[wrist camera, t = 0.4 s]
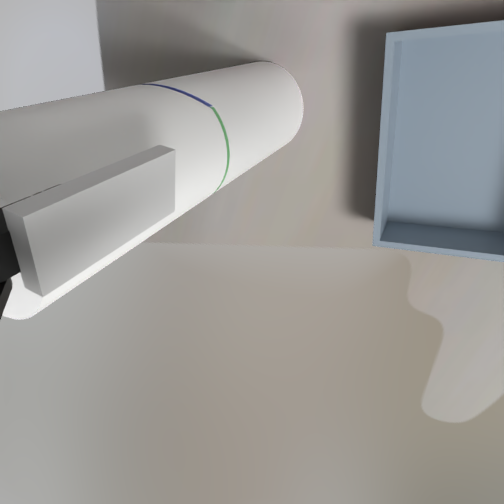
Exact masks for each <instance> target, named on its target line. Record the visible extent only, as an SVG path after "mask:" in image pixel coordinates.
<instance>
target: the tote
mask: <svg viewBox="0 0 504 504" xmlns="http://www.w3.org/2000/svg"><path fill="white" fill-rule="evenodd" d="M373 246H378V247H386V248H394V249H402V250H410V251H418V252H427V253H435V254H443V255H451V256H459V257H467V258H475V259H483V260H491V261H499V262H504V20H499V21H489V22H480V23H471V24H461V25H452V26H442V27H433V28H424V29H414V30H405V31H396V32H389V33H386V45H385V61H384V76H383V92H382V107H381V123H380V138H379V153H378V169H377V184H376V200H375V215H374V231H373Z"/></svg>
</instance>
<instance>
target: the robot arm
mask: <svg viewBox="0 0 504 504" xmlns="http://www.w3.org/2000/svg"><path fill="white" fill-rule="evenodd" d="M175 154H176V150H175V149H172V148H169V147H166V146H163V145H157V146H155V147H152V148H150V149H147V150H145V151H142V152H140V153H137V154H135V155H132V156H130V157H127V158H125V159H122V160H120V161H117V162H115V163H113V164H110V165H108V166H105V167H103V168H100V169H98V170H95V171H93V172H90V173H88V174H85V175H83V176H80V177H78V178H75V179H73V180H70V181H68V182H65V183H63V184H59V185H56V186H53V187H51V188H48V189H46V190H44V191H43V192H38V193H36V194H34V195H33V196H29V197H26V198H24V199H21V200H19V201H16V202H14V203H11V204H9V205H6V206H4V207H1V208H0V319H1V316H2V314H3V311H4V309H5V306H6V303H7V301H8V298H9V295H10V293H11V290H12V280H11V277H13V276H14V275H16V274H18V273H21V277H22V280H23V284H24V287H25V288H26V289H28V290H30V291H32V292H34V293H36V294H38V295H40V296H41V297H44V296H46V295H47V294H49V293H50V292H52V291H53V290H55V289H56V288H58V287H60V286H61V285H63V284H64V283H66V282H67V281H69V280H70V279H72V278H73V277H75V276H76V275H78V274H79V273H81V272H82V271H84V270H86V269H87V268H89V267H90V266H92V265H93V264H95V263H96V262H98V261H99V260H101V259H102V258H104V257H105V256H107V255H109V254H110V253H112V252H113V251H115V250H116V249H118V248H119V247H121V246H122V245H124V244H125V243H127V242H128V241H130V240H131V239H133V238H135V237H136V236H138V235H139V234H141V233H142V232H144V231H145V230H147V229H148V228H150V227H151V226H153V225H154V224H156V223H157V222H159V221H161V220H162V219H164V218H165V217H167V216H168V215H170V214H171V213H173V212H174V211H175Z"/></svg>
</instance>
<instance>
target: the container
mask: <svg viewBox="0 0 504 504" xmlns="http://www.w3.org/2000/svg"><path fill="white" fill-rule="evenodd" d="M302 118H303V99H302V94H301V91H300V89H299V86H298V84H297V82H296V81H295V79H294V78H293V77H292V75H291V74H290V73H289V72H288V71H287V70H285V69H284V68H283V67H281V66H279V65H277V64H275V63H272V62H265V61H261V62H254V63H248V64H243V65H238V66H233V67H228V68H222V69H217V70H212V71H207V72H202V73H196V74H191V75H186V76H181V77H176V78H170V79H165V80H160V81H155V82H149V83H144V84H139V85H134V86H129V87H123V88H118V89H113V90H108V91H103V92H98V93H92V94H87V95H82V96H77V97H71V98H66V99H61V100H56V101H51V102H45V103H40V104H35V105H30V106H25V107H19V108H15V109H9V110H5V111H0V208H1V207H4V206H6V205H9V204H11V203H14V202H16V201H19V200H21V199H24V198H26V197H29V196H33V195H34V194H36V193H38V192H43V191H44V190H46V189H48V188H51V187H53V186H56V185H59V184H63V183H65V182H68V181H70V180H73V179H75V178H78V177H80V176H83V175H85V174H88V173H90V172H93V171H95V170H98V169H100V168H103V167H105V166H108V165H110V164H113V163H115V162H117V161H120V160H122V159H125V158H127V157H130V156H132V155H135V154H137V153H140V152H142V151H145V150H147V149H150V148H152V147H155V146H157V145H163V146H166V147H169V148H172V149H175V150H176V154H175V211H174V212H173V213H171V214H170V215H168V216H167V217H165V218H164V219H162V220H161V221H159V222H157V223H156V224H154V225H153V226H151V227H150V228H148V229H147V230H145V231H144V232H142V233H141V234H139V235H138V236H136V237H135V238H133V239H131V240H130V241H128V242H127V243H125V244H124V245H122V246H121V247H119V248H118V249H116V250H115V251H113V252H112V253H110V254H109V255H107V256H105V257H104V258H102V259H101V260H99V261H98V262H96V263H95V264H93V265H92V266H90V267H89V268H87V269H86V270H84V271H82V272H81V273H79V274H78V275H76V276H75V277H73V278H72V279H70V280H69V281H67V282H66V283H64V284H63V285H61V286H60V287H58V288H56V289H55V290H53V291H52V292H50V293H49V294H47V295H46V296H44V297H41V296H40V295H38V294H36V293H34V292H32V291H30V290H28V289H26V288H25V287H24V284H23V280H22V277H21V273H18V274H16V275H14V276H13V277H11V280H12V290H11V293H10V295H9V298H8V301H7V303H6V306H5V309H4V311H3V314H2V315H3V316H6V317H8V318H13V319H27V318H30V317H32V316H33V315H35V314H36V313H38V312H39V311H41V310H42V309H44V308H45V307H47V306H48V305H50V304H51V303H53V302H54V301H55V300H57V299H58V298H60V297H61V296H63V295H64V294H66V293H67V292H69V291H70V290H71V289H73V288H75V287H76V286H78V285H79V284H80V283H82V282H83V281H85V280H86V279H88V278H89V277H91V276H92V275H94V274H95V273H97V272H98V271H100V270H101V269H103V268H104V267H106V266H107V265H108V264H110V263H111V262H113V261H115V260H116V259H117V258H119V257H120V256H122V255H123V254H125V253H126V252H128V251H129V250H131V249H132V248H134V247H135V246H137V245H138V244H140V243H141V242H143V241H144V240H145V239H147V238H148V237H150V236H151V235H153V234H154V233H156V232H157V231H159V230H160V229H162V228H163V227H165V226H166V225H168V224H169V223H171V222H172V221H173V220H175V219H176V218H178V217H179V216H181V215H182V214H184V213H185V212H187V211H188V210H190V209H191V208H193V207H194V206H196V205H197V204H199V203H200V202H201V201H203V200H204V199H206V198H207V197H209V196H210V195H212V194H213V193H215V192H216V191H218V190H219V189H221V188H222V187H224V186H225V185H227V184H228V183H230V182H231V181H232V180H234V179H235V178H237V177H238V176H240V175H241V174H243V173H244V172H246V171H247V170H249V169H250V168H252V167H253V166H255V165H256V164H258V163H259V162H261V161H262V160H264V159H265V158H266V157H268V156H269V155H271V154H272V153H274V152H275V151H277V150H278V149H280V148H281V147H283V146H284V145H286V144H287V143H288V142H290V141H291V140H292V139H293V137H294V136H295V135H296V133H297V132H298V130H299V128H300V125H301V122H302Z"/></svg>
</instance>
